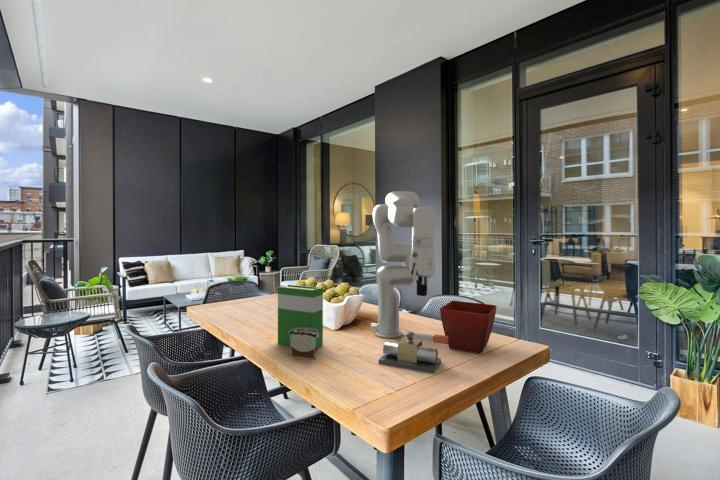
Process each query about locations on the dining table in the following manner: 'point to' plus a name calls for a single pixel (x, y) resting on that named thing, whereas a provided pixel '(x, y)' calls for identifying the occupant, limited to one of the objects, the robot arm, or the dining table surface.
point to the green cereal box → (299, 311)
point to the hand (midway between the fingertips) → (421, 295)
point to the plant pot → (468, 325)
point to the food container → (303, 342)
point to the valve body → (410, 355)
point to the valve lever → (428, 337)
